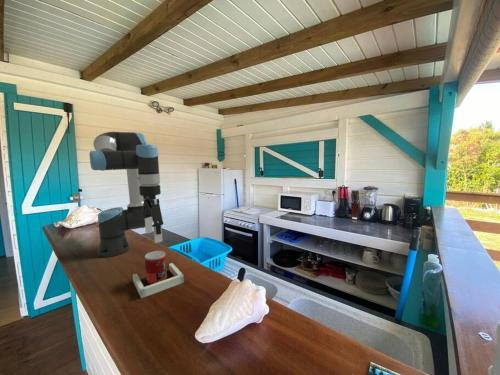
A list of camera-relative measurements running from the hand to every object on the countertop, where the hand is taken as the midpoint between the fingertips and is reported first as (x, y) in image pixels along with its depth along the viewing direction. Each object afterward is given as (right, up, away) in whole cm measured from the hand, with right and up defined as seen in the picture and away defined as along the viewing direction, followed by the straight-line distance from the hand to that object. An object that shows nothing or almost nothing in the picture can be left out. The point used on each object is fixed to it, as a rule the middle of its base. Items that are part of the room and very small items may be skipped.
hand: (153, 237), depth 88 cm
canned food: (0, -18, +2) cm, 19 cm away
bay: (+2, -18, +1) cm, 18 cm away
